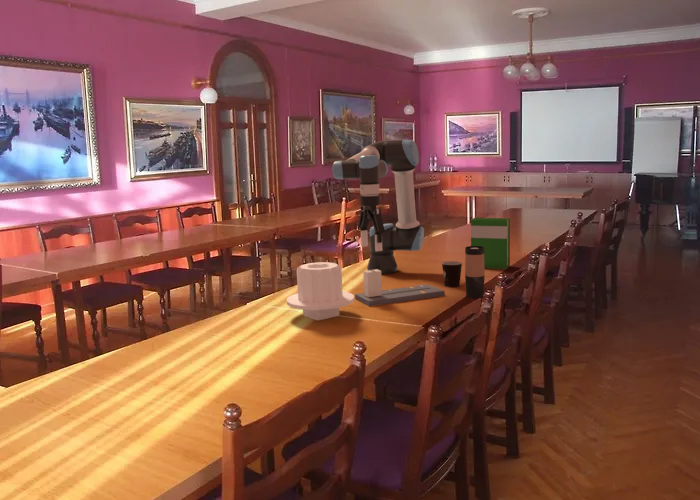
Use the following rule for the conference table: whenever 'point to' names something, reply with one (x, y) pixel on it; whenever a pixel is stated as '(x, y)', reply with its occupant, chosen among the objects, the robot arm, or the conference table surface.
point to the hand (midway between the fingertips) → (371, 248)
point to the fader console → (401, 295)
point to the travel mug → (474, 271)
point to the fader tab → (372, 283)
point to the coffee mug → (452, 273)
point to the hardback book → (492, 240)
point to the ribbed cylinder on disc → (320, 291)
